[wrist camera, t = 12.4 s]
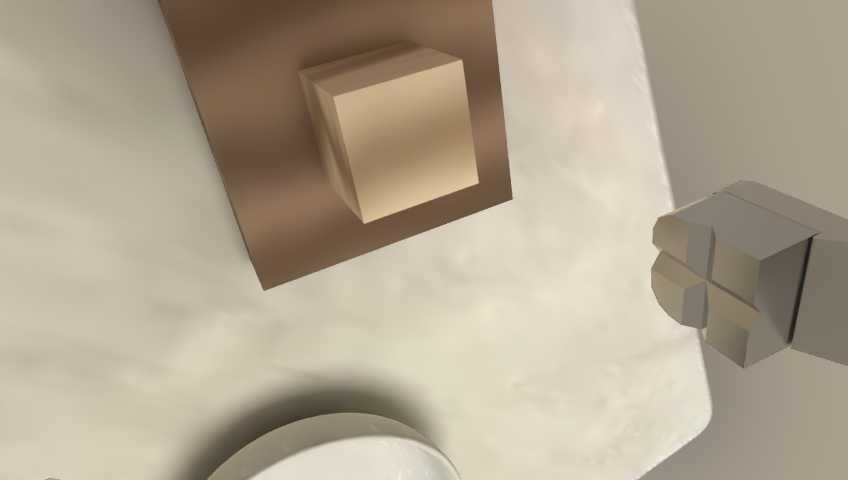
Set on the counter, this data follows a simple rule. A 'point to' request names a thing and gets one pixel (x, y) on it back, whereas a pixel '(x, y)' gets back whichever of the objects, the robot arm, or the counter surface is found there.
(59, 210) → the counter surface
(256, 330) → the counter surface
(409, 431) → the serving bowl
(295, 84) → the plinth
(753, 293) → the robot arm
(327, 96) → the beech cube
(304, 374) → the counter surface
